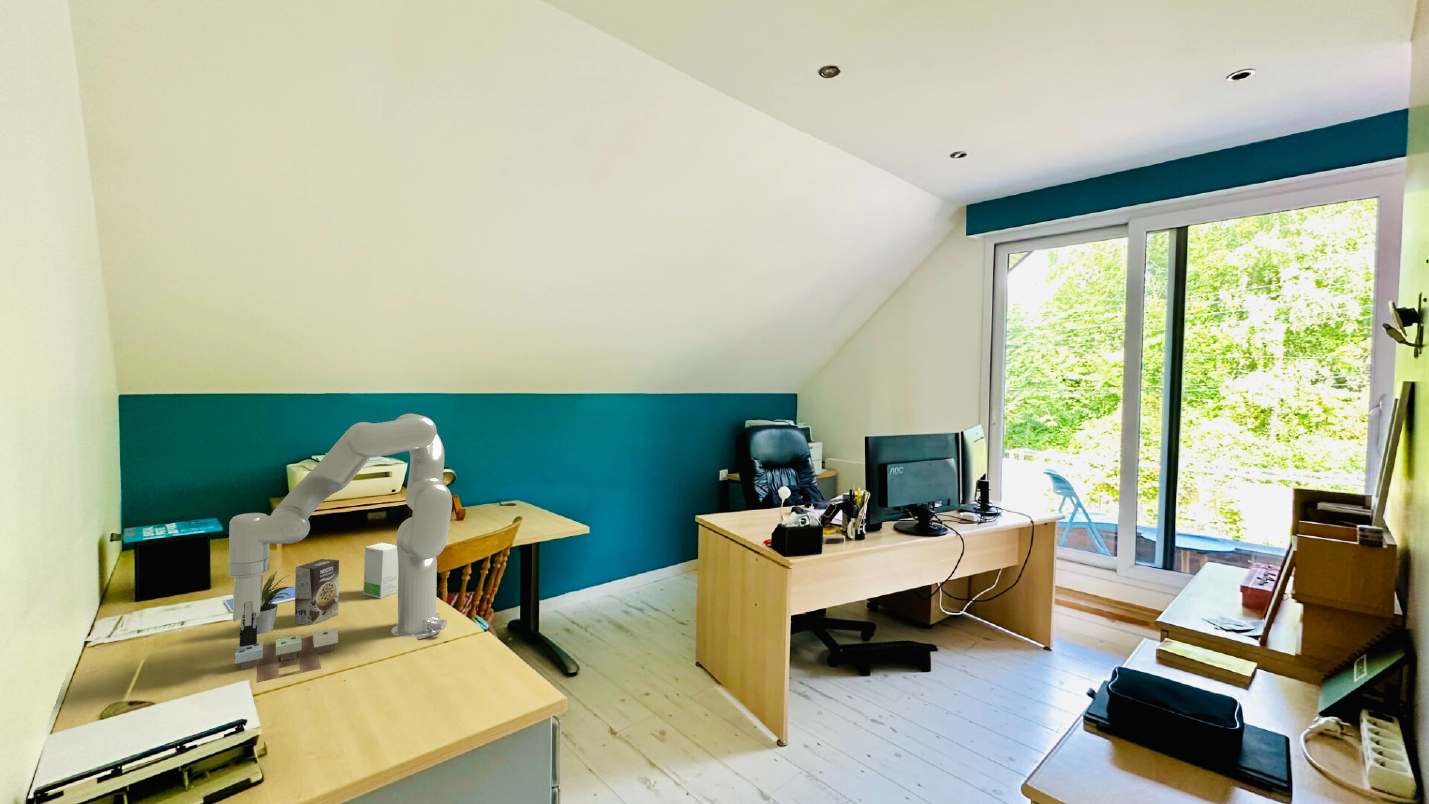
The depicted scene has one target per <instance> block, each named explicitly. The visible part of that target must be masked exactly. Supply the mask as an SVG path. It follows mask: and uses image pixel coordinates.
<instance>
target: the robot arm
mask: <svg viewBox="0 0 1429 804" xmlns="http://www.w3.org/2000/svg"><path fill="white" fill-rule="evenodd" d="M404 452H409V457H410V461H409V462H410V464H409V472H408V479H407V485H406V491H405V502H406V504H407V507H409V509H411V510H412V515H411V517H408V518H406V519H405V520H404V521H403V522H401V524H400V525H399V527H398V530H397V532H396V537H395V538H396V540H395V541H396V546H397V553H398V588H397V624H396V625H395V626H393V627H392V628H391V631H390V632H391V634H392V635H394V636H397V637H403V638H404V637H405V638H409V637H416V639H417V640H422V639H425V638H430V637H432V636H435V635H436V634H437V633H440V631H444V630H445V629H446V627H447V624H448V619H441V617H440V616H441V615H440V614H441V613H439V612H437V587H438V585H437V584H438V583H437V573H438V568H437V567H438V563H437V556H439V555H440V554H441V553H442V552H443V551H444V550H445V547H446V545H447V542H448V538H449V531H450V524H451V516H452V510H453V498H452V493H451V491H450V489H449V488H448V487H447V486H446V485H445V484H444V483H443V480H444V468H445V448H444V445H443V442H442V440H441V438H440V436H439V434H438V432H437V426H436V424H435V422H434V421H433V420H432V419H430V417H427V416H425V415H420V414H415V413H405V414H401V415H400V416H398V417H397V418H396V419H395V420H390V421H383V422H376V423H375V422H374V423H372V422H367V421H365V422H364V421H361V422H360V421H359V422H357V423H355V424H353V425H351V426H350V427H349V428H348V429H347V430H346V431H345V433H343V435H341V437H340V439H338V441H336V443H334V444H333V446H332V447H331V448H330V450H329V451H328V452H327V453H326V454H325V455H324V456H323V457H322V459H321V460H320V461H319V462H318V463H317V464H316V466H314V468H313V469H311V471H309V472H308V473H307V474H306V475H305V476H304V478H302V479H301V480H300V481H299V482H298V483H297V484H296V485H295V486H294V487H293V488H292V489H291V490H290V491H289V492H288V494H286V496H285V497H284V498H283V499H282V500H281V501H280V503H279V504H278V505H277V506H276V507H275V509H273V511H272V513H271V514H270V515H267V514H266V513H261V512H249V513H241V514H238V515H235V516H233V517H232V518H231V519H230V521H229V528H228V530H229V531H228V535H229V536H228V539H229V541H228V545H229V546H228V577H230V578H233V580H234V581H233V593H232V594H233V595H232V597H233V598H232V599H233V613H232V621H234V622H237V621H238V620H240V627H239V646H240V647H244V646H249V645H255V644H256V643H258V634H257V625H256V618H257V617H258V616H259V614H260V608H261V601H262V591H263V587H264V586H263V583H264V582H263V580H264V578H263V577H264V574H267V573H269V572H270V545H271V544H272V545H288V544H290V545H291V544H296V543H299V542H300V541H303V540H304V539H305V538H306V537H307V536H308V535H309V532H310V530H311V525H310V521H309V518H310V516H311V515H312V514H313V513H314V512H315V511H316V509H318V507H319V506H320V505H322V504H323V502H324V501H325V500H326V499H328V498H329V497H331V496H332V495H333V494H336V493H337V492H340V491H342V490H343V489H345V488H346V487H347V486H348V485H349V484H350V483H352V480H354V478H355V477H356V476H357V474H358V473H360V471H361V470H362V468H363V467H364V466H365V465H366V464H367V462H368V461H370V459H371V458H373V459H374V458H380V457H385V456H391V455H395V454H400V453H404Z"/></svg>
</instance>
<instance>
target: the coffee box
mask: <svg viewBox="0 0 1429 804" xmlns="http://www.w3.org/2000/svg"><path fill="white" fill-rule="evenodd" d="M339 573H340V560H339V559H333V558H332V559H330V558H329V559H325V558H320V559H317V560H314V561H313V560H312V561H310V562H307V563H304V564H302V565H298V566H295V577H294V578H295V579H294V580H295V581H294V587H295V600H294V624H299V625H306V626H312V625H317V624H319V623H321V622H324V621H326V620H328V619H330V618H333V617H335V616H337V615H339V597H340V595H339V591H340V590H339V585H340V583H339V581H340V579H339V578H340V575H339Z"/></svg>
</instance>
